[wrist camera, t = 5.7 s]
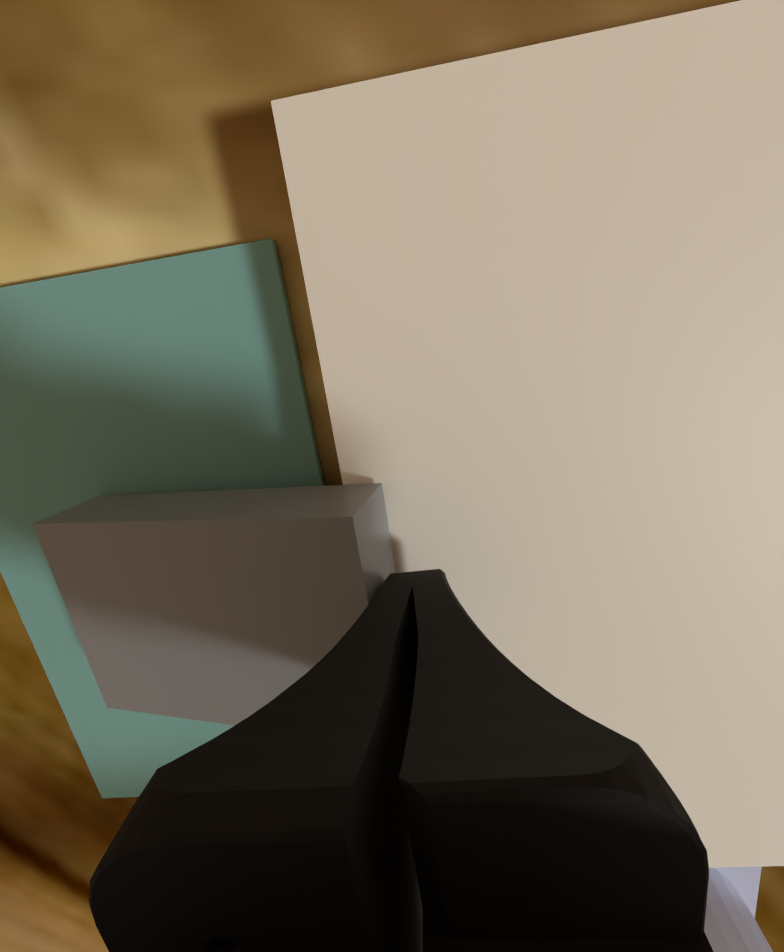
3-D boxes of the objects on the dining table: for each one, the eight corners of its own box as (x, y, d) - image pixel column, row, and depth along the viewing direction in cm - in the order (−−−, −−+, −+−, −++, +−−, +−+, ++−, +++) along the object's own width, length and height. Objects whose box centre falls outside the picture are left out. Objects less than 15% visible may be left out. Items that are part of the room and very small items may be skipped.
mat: (383, 777, 17) (382, 784, 17) (107, 791, 18) (102, 798, 18) (275, 240, 12) (271, 238, 11) (-106, 309, 13) (-118, 308, 12)
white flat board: (818, 799, 16) (872, 863, 14) (417, 815, 17) (416, 875, 15) (957, 7, 9) (1093, -75, 7) (297, 141, 11) (270, 100, 9)
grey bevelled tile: (413, 686, 13) (394, 748, 11) (156, 661, 15) (107, 707, 14) (381, 483, 11) (352, 516, 9) (97, 496, 14) (32, 524, 12)
